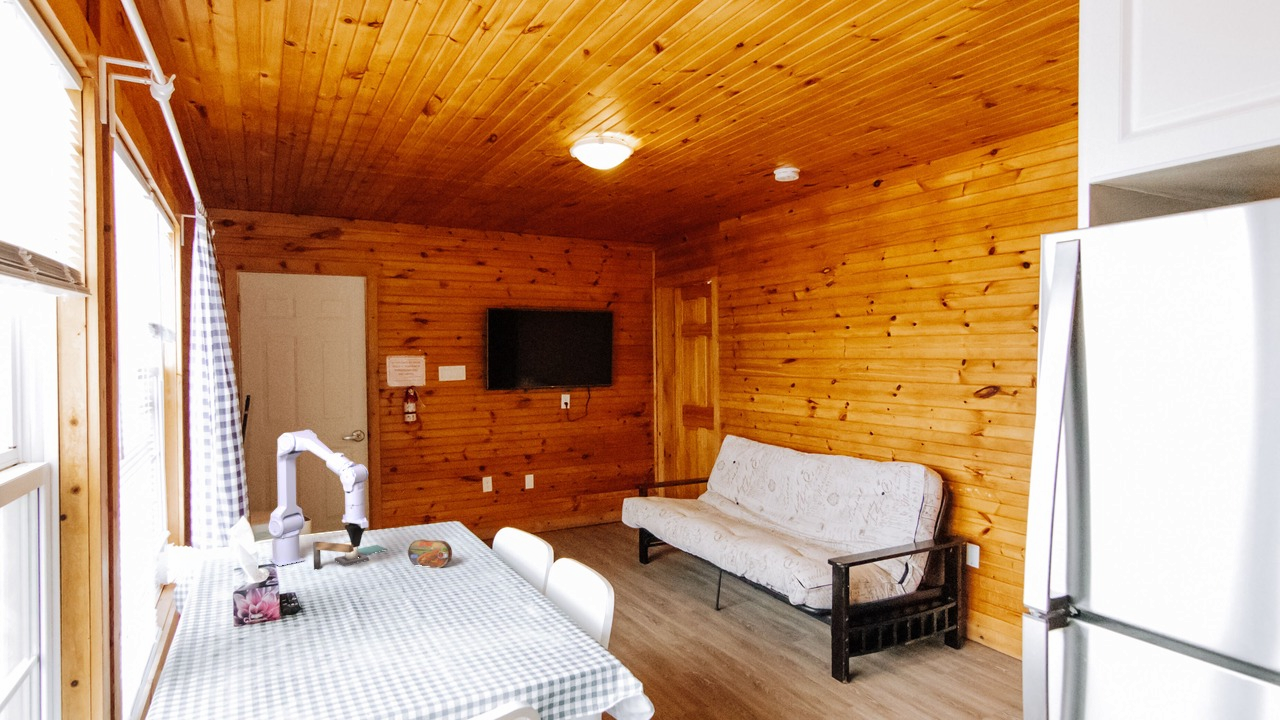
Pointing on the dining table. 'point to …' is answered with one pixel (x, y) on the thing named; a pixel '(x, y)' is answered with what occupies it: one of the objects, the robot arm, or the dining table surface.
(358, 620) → the dining table surface
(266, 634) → the dining table surface
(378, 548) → the teal mat
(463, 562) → the dining table surface
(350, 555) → the plug
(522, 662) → the dining table surface
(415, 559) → the tin
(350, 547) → the retention bar
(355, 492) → the robot arm
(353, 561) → the socket plate
